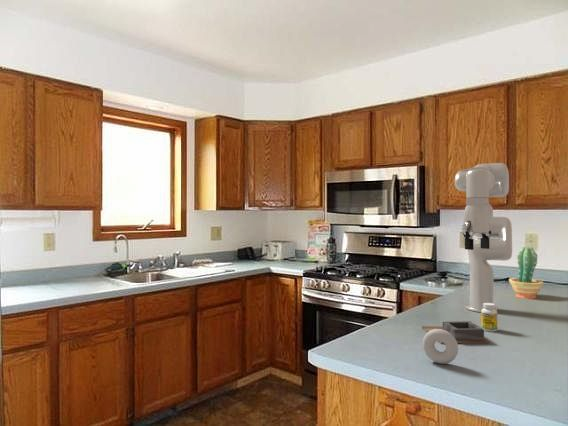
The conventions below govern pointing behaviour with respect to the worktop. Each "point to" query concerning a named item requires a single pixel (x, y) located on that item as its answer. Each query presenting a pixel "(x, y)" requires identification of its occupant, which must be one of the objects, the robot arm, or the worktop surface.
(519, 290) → the potted cactus
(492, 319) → the supplement bottle
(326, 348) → the worktop surface
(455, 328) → the dock
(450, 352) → the donut
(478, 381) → the worktop surface
